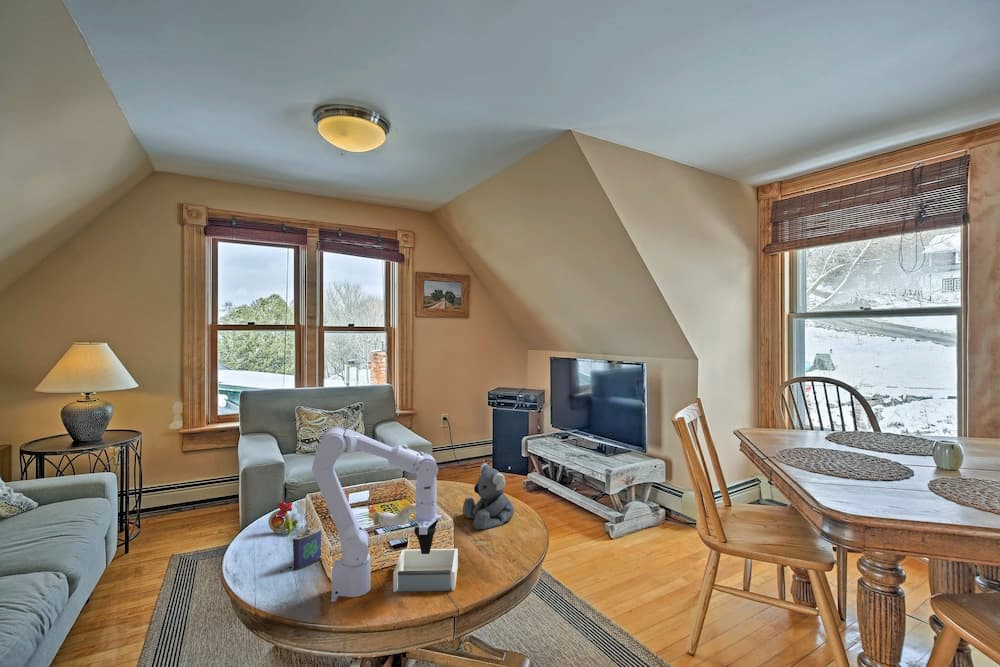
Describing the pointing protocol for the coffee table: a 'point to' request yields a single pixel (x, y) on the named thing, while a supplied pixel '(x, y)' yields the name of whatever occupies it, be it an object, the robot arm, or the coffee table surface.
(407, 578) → the door panel
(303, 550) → the flask
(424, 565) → the white cubby shelf
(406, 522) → the unicorn figurine
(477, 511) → the koala plush
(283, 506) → the bird rattle
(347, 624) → the coffee table surface
